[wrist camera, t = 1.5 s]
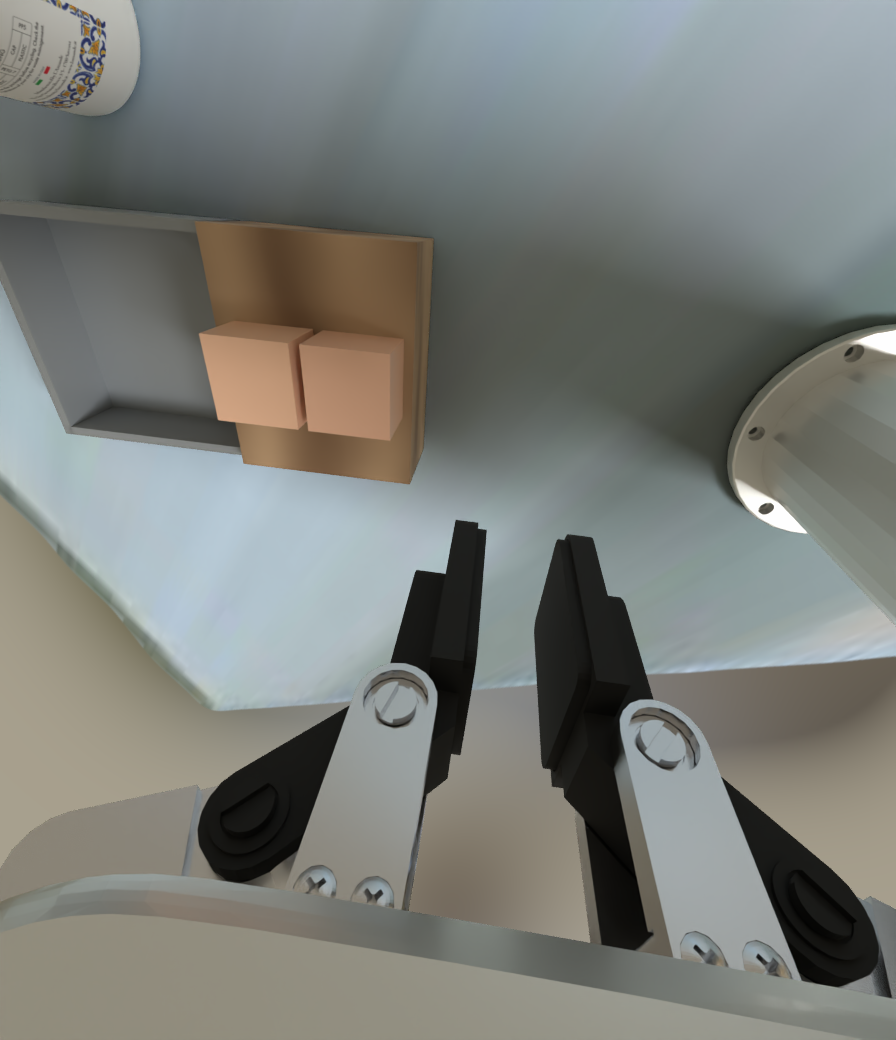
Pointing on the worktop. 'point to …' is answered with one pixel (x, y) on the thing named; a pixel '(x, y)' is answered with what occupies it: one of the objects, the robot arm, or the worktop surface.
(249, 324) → the light orange block
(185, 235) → the tray
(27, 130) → the worktop surface
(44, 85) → the bath foam
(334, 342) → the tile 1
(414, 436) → the brown slab
